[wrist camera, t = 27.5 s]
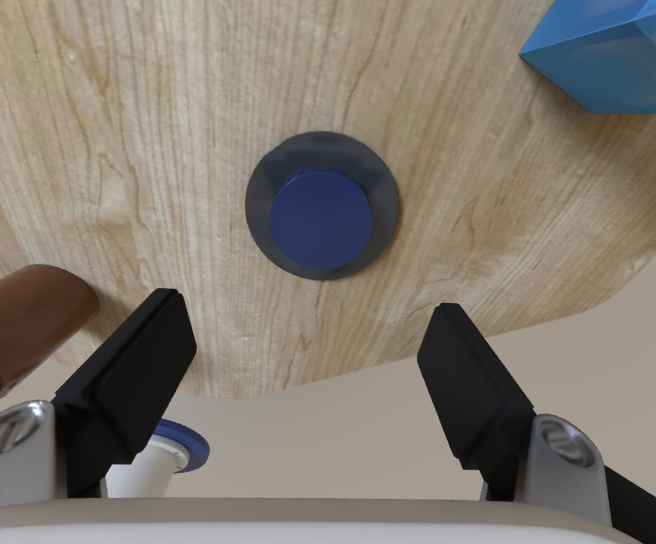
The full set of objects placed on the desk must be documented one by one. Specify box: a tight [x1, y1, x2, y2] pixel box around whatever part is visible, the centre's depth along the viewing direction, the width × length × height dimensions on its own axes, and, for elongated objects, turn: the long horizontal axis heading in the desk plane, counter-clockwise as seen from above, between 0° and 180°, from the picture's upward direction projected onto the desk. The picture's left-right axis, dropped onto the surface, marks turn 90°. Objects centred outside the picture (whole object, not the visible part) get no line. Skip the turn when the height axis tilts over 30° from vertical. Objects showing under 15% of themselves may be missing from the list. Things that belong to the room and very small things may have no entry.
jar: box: [0, 264, 99, 399], centre depth 19 cm, size 6×6×9 cm
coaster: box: [245, 131, 398, 280], centre depth 19 cm, size 11×11×1 cm
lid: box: [269, 166, 373, 270], centre depth 18 cm, size 7×7×2 cm
